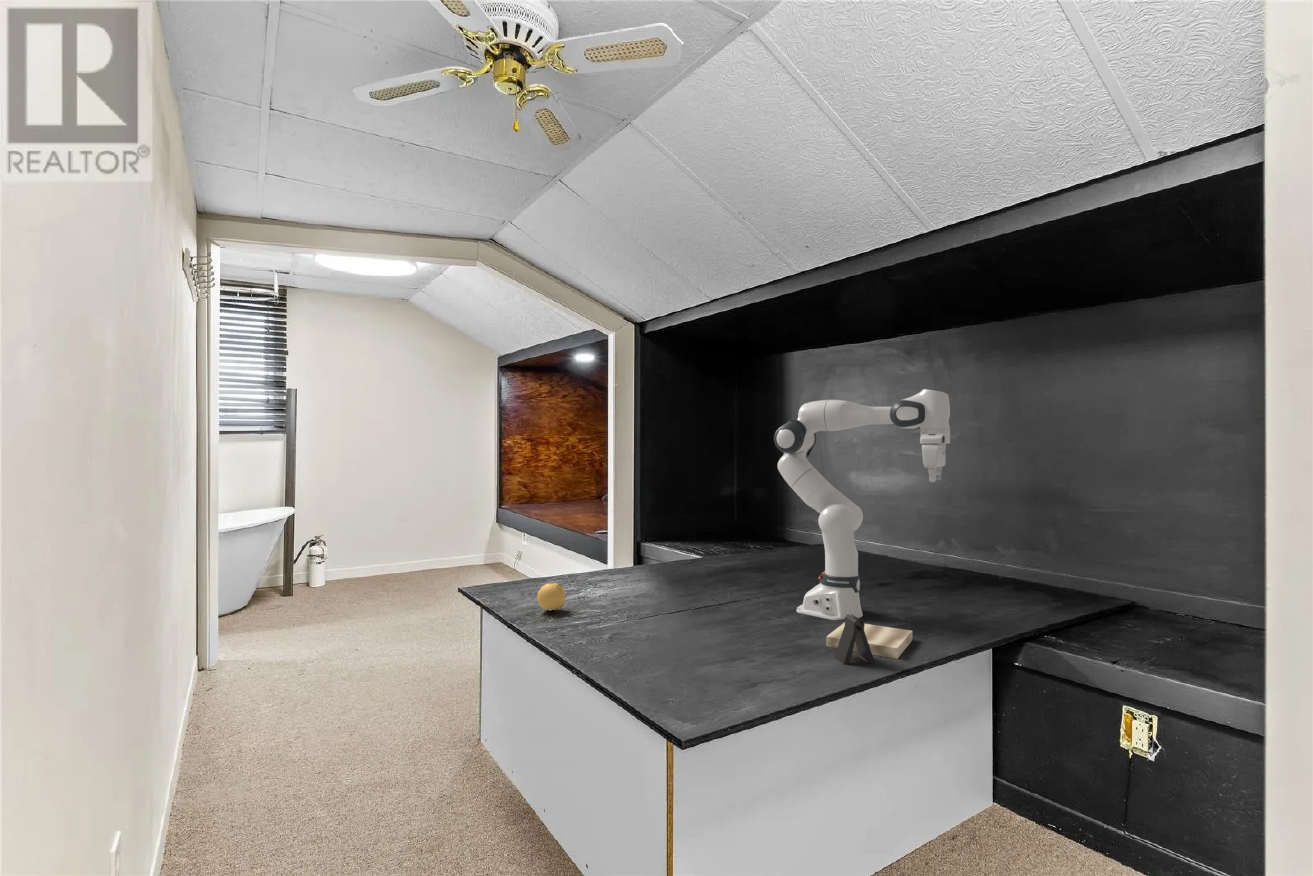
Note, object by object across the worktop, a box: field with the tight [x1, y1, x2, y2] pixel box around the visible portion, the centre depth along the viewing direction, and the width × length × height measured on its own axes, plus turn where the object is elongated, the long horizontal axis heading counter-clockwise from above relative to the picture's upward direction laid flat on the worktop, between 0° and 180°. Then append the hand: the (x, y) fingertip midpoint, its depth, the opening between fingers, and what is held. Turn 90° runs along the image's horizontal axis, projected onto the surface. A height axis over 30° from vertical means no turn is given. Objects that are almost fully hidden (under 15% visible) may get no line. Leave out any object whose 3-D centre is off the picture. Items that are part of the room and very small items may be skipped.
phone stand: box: [834, 614, 875, 665], centre depth 178 cm, size 9×6×12 cm, turn 98°
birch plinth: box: [825, 621, 913, 660], centre depth 193 cm, size 20×20×3 cm
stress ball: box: [537, 581, 566, 610], centre depth 230 cm, size 10×10×10 cm
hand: (935, 481), depth 209 cm, fingers open, 8 cm apart
